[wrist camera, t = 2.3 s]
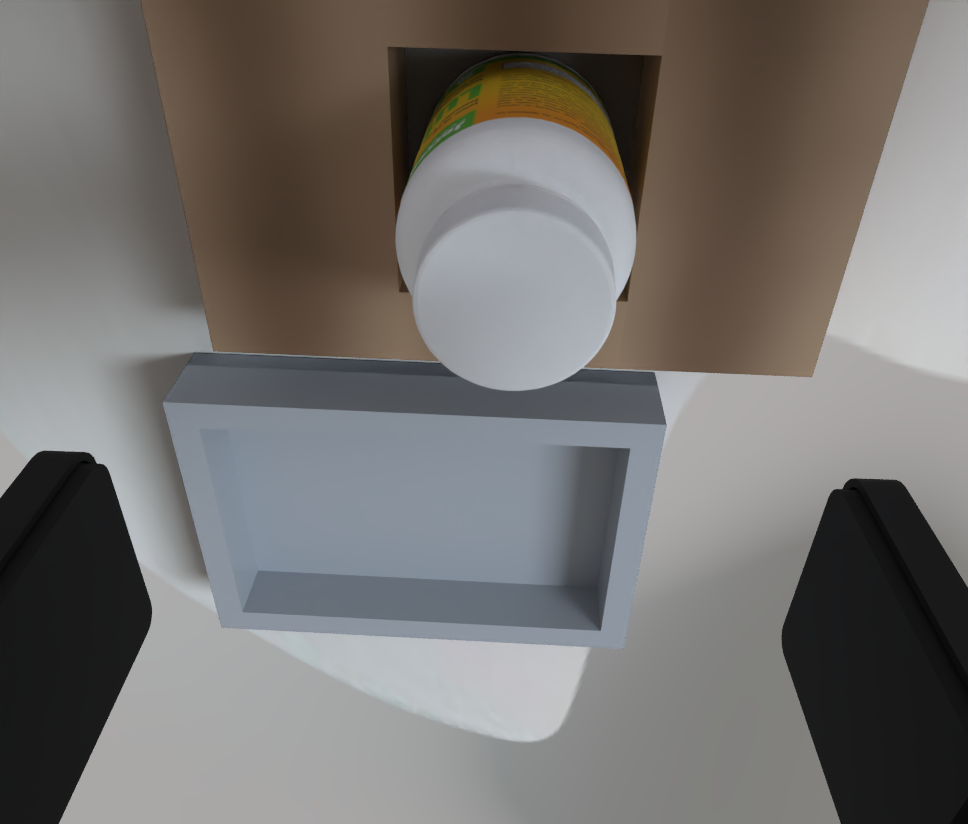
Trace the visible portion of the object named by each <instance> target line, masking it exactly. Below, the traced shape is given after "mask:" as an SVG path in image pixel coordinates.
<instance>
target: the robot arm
mask: <svg viewBox="0 0 968 824" xmlns="http://www.w3.org/2000/svg"><path fill="white" fill-rule="evenodd" d="M151 617H152V606H151V601H150V598H149V595H148V592H147V589H146V586H145V583H144V579H143V576H142V573H141V570H140V567H139V564H138V561H137V558H136V554H135V551H134V548H133V545H132V542H131V539H130V536H129V533H128V529H127V526H126V523H125V520H124V517H123V514H122V511H121V508H120V504H119V501H118V498H117V495H116V492H115V489H114V486H113V483H112V479H111V476H110V473H109V471H108V469H107V467H106V466H105V465H103V464H97V463H96V461H95V459H94V457H93V456H92V455H91V454H90V453H86V452H65V451H41V452H38V453H37V454H36V455H35V456H34V457H33V458H32V459H31V460H30V461H29V462H28V464H27V465H26V466H25V468H24V469H23V470H22V471H21V473H20V474H19V475H18V476H17V478H16V479H15V480H14V482H13V483H12V484H11V485H10V487H9V488H8V489H7V490H6V492H5V493H4V494H3V495H2V497H1V498H0V824H59V822H60V820H61V817H62V815H63V813H64V811H65V809H66V807H67V805H68V802H69V800H70V798H71V796H72V794H73V792H74V790H75V787H76V785H77V783H78V781H79V779H80V777H81V775H82V772H83V770H84V768H85V766H86V764H87V762H88V760H89V757H90V755H91V753H92V751H93V749H94V747H95V745H96V742H97V740H98V738H99V736H100V734H101V732H102V729H103V727H104V725H105V723H106V721H107V719H108V717H109V715H110V712H111V710H112V708H113V706H114V703H115V702H116V699H117V697H118V695H119V693H120V691H121V688H122V687H123V684H124V682H125V680H126V678H127V676H128V674H129V671H130V669H131V667H132V665H133V663H134V661H135V659H136V656H137V654H138V652H139V650H140V648H141V646H142V644H143V642H144V639H145V637H146V635H147V633H148V630H149V627H150V624H151ZM782 648H783V653H784V657H785V660H786V663H787V666H788V668H789V672H790V674H791V677H792V680H793V683H794V686H795V689H796V692H797V695H798V698H799V701H800V704H801V707H802V710H803V713H804V716H805V719H806V722H807V725H808V728H809V730H810V733H811V737H812V739H813V742H814V745H815V748H816V751H817V754H818V757H819V760H820V763H821V766H822V769H823V772H824V775H825V778H826V781H827V784H828V787H829V790H830V793H831V796H832V799H833V801H834V804H835V807H836V810H837V813H838V816H839V819H840V822H841V824H968V587H967V586H966V584H965V582H964V581H963V579H962V578H961V576H960V574H959V573H958V571H957V570H956V568H955V566H954V565H953V563H952V561H951V560H950V558H949V556H948V555H947V553H946V552H945V550H944V548H943V547H942V545H941V544H940V542H939V541H938V539H937V537H936V535H935V534H934V532H933V531H932V530H931V527H930V526H929V524H928V523H927V521H926V520H925V518H924V516H923V514H922V513H921V512H920V510H919V508H918V506H917V505H916V503H915V502H914V500H913V498H912V497H911V495H910V493H909V492H908V490H907V489H906V487H905V486H904V485H903V484H902V483H901V482H899V481H897V480H883V479H881V480H880V479H850V480H849V481H847V482H846V483H845V485H844V487H843V489H836V490H833V491H832V492H831V494H830V496H829V498H828V501H827V504H826V506H825V509H824V512H823V515H822V518H821V521H820V524H819V526H818V529H817V532H816V535H815V537H814V540H813V543H812V546H811V549H810V552H809V555H808V557H807V560H806V563H805V566H804V568H803V571H802V574H801V577H800V580H799V583H798V585H797V588H796V591H795V594H794V597H793V600H792V602H791V605H790V608H789V611H788V614H787V616H786V619H785V622H784V625H783V629H782Z"/></svg>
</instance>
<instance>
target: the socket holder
mask: <svg viewBox="0 0 968 824" xmlns="http://www.w3.org/2000/svg"><path fill="white" fill-rule="evenodd" d="M928 3H929V0H141V5H142V10H143V15H144V20H145V25H146V29H147V34H148V39H149V44H150V49H151V53H152V58H153V63H154V68H155V73H156V78H157V82H158V87H159V92H160V97H161V102H162V106H163V111H164V116H165V121H166V126H167V131H168V135H169V140H170V145H171V150H172V155H173V159H174V164H175V169H176V174H177V179H178V184H179V188H180V193H181V198H182V203H183V208H184V213H185V217H186V222H187V227H188V232H189V237H190V241H191V246H192V251H193V256H194V261H195V266H196V270H197V275H198V280H199V285H200V290H201V294H202V299H203V304H204V309H205V314H206V319H207V323H208V328H209V333H210V338H211V343H212V347H213V351H219V352H242V353H266V354H289V355H312V356H335V357H358V358H381V359H404V360H428V361H439V360H438V359H437V358H436V357H435V356H434V355H433V354H432V352H431V351H430V350H429V349H428V347H427V345H426V344H425V342H424V341H423V339H422V337H421V335H420V333H419V330H418V328H417V325H416V321H415V317H414V313H413V306H412V295H411V294H410V292H409V290H408V288H407V286H406V284H405V282H404V279H403V277H402V274H401V271H400V267H399V263H398V259H397V252H396V241H395V235H396V223H397V217H398V212H399V208H400V203H401V198H402V196H403V193H404V190H405V188H406V185H407V182H408V180H409V160H408V132H407V103H406V75H405V47H412V48H442V49H473V50H504V51H535V52H566V53H596V54H627V55H644V59H643V67H642V75H641V83H640V91H639V98H638V106H637V114H636V122H635V130H634V137H633V145H632V153H631V161H630V169H629V176H628V187H629V191H630V194H631V197H632V202H633V207H634V215H635V222H636V251H635V258H634V262H633V266H632V269H631V273H630V275H629V278H628V280H627V282H626V285H625V287H624V289H623V291H622V292H621V294H620V296H619V298H618V299H617V300H616V313H615V318H614V322H613V325H612V327H611V330H610V333H609V335H608V337H607V339H606V341H605V342H604V344H603V346H602V347H601V349H600V350H599V351H598V353H597V354H596V355H595V356H594V357H593V358H592V359H591V360H590V362H589V363H588V364H587V365H585V366H584V367H589V368H613V369H636V370H659V371H682V372H705V373H728V374H751V375H752V374H753V375H774V376H798V377H812V376H813V372H814V369H815V366H816V363H817V360H818V356H819V353H820V350H821V347H822V344H823V340H824V337H825V334H826V331H827V327H828V324H829V321H830V318H831V315H832V311H833V308H834V305H835V302H836V299H837V295H838V292H839V289H840V286H841V282H842V279H843V276H844V273H845V270H846V266H847V263H848V260H849V257H850V253H851V250H852V247H853V244H854V241H855V237H856V234H857V231H858V228H859V225H860V221H861V218H862V215H863V212H864V208H865V205H866V202H867V199H868V196H869V192H870V189H871V186H872V183H873V180H874V176H875V173H876V170H877V167H878V163H879V160H880V157H881V154H882V151H883V147H884V144H885V141H886V138H887V134H888V131H889V128H890V125H891V122H892V118H893V115H894V112H895V109H896V106H897V102H898V99H899V96H900V93H901V89H902V86H903V83H904V80H905V77H906V73H907V70H908V67H909V64H910V61H911V57H912V54H913V51H914V48H915V44H916V41H917V38H918V35H919V32H920V28H921V25H922V22H923V19H924V15H925V12H926V9H927V6H928Z"/></svg>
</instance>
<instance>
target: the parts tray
mask: <svg viewBox="0 0 968 824" xmlns="http://www.w3.org/2000/svg"><path fill="white" fill-rule="evenodd" d="M162 403H163V407H164V410H165V414H166V418H167V422H168V426H169V429H170V433H171V437H172V441H173V445H174V448H175V452H176V456H177V460H178V464H179V468H180V471H181V475H182V479H183V483H184V487H185V490H186V494H187V498H188V502H189V506H190V509H191V513H192V517H193V521H194V525H195V529H196V532H197V536H198V540H199V544H200V548H201V551H202V555H203V559H204V563H205V567H206V570H207V574H208V578H209V582H210V586H211V590H212V593H213V597H214V601H215V605H216V609H217V612H218V616H219V620H220V624H221V627H222V628H239V629H258V630H277V631H295V632H314V633H333V634H352V635H371V636H390V637H409V638H428V639H447V640H466V641H485V642H504V643H523V644H542V645H561V646H580V647H599V648H618V649H623V648H624V644H625V639H626V634H627V629H628V622H629V618H630V613H631V607H632V602H633V597H634V592H635V587H636V582H637V576H638V571H639V565H640V561H641V556H642V550H643V545H644V540H645V535H646V530H647V524H648V519H649V514H650V509H651V503H652V498H653V493H654V488H655V483H656V477H657V472H658V467H659V461H660V457H661V451H662V446H663V441H664V436H665V430H666V420H665V416H664V412H663V407H662V403H661V398H660V394H659V390H658V385H657V381H656V377H655V373H646V372H623V371H600V370H579V371H578V372H576V373H575V374H573V375H572V376H570V377H568V378H566V379H564V380H562V381H560V382H558V383H555V384H552V385H549V386H546V387H543V388H539V389H532V390H524V391H506V390H497V389H491V388H487V387H483V386H480V385H477V384H474V383H472V382H470V381H468V380H466V379H463V378H461V377H460V376H458V375H456V374H455V373H453V372H452V371H450V370H449V369H448V368H447V367H445V366H444V365H443V364H438V363H415V362H392V361H369V360H346V359H323V358H300V357H277V356H254V355H231V354H208V353H194V354H193V356H192V358H191V359H190V361H189V362H188V364H187V365H186V367H185V368H184V370H183V371H182V373H181V374H180V376H179V377H178V379H177V381H176V382H175V384H174V385H173V387H172V388H171V390H170V391H169V393H168V394H167V396H166V397H165V399H164V400H163V402H162Z"/></svg>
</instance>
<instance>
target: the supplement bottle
mask: <svg viewBox="0 0 968 824" xmlns="http://www.w3.org/2000/svg"><path fill="white" fill-rule="evenodd" d="M395 241H396V252H397V259H398V263H399V267H400V271H401V274H402V277H403V279H404V282H405V284H406V286H407V288H408V290H409V292H410V294H411V295H412V306H413V313H414V317H415V321H416V325H417V328H418V330H419V333H420V335H421V337H422V339H423V341H424V342H425V344H426V345H427V347H428V349H429V350H430V351H431V352H432V354H433V355H434V356H435V357H436V358H437V359H438V360H439V361H440V362H441V363H442V364H443V365H444V366H445V367H447V368H448V369H449V370H450V371H452V372H453V373H455V374H456V375H458V376H460V377H461V378H463V379H466V380H468V381H470V382H472V383H474V384H477V385H480V386H483V387H487V388H491V389H497V390H506V391H524V390H532V389H539V388H543V387H546V386H549V385H552V384H555V383H558V382H560V381H562V380H564V379H566V378H568V377H570V376H572V375H573V374H575V373H576V372H578V371H579V370H580V369H582V368H583V367H584V366H585V365H587V364H588V363H589V362H590V360H591V359H592V358H593V357H594V356H595V355H596V354H597V353H598V351H599V350H600V349H601V347H602V346H603V344H604V342H605V341H606V339H607V337H608V335H609V333H610V330H611V327H612V325H613V322H614V318H615V313H616V300H617V299H618V298H619V296H620V294H621V292H622V291H623V289H624V287H625V285H626V282H627V280H628V278H629V275H630V273H631V269H632V266H633V262H634V258H635V251H636V222H635V215H634V207H633V202H632V197H631V194H630V191H629V187H628V183H627V180H626V177H625V173H624V169H623V165H622V162H621V159H620V155H619V152H618V148H617V144H616V141H615V136H614V132H613V129H612V125H611V121H610V119H609V116H608V113H607V111H606V108H605V106H604V104H603V102H602V100H601V99H600V97H599V95H598V94H597V92H596V91H595V90H594V88H593V87H592V86H591V85H590V84H589V82H587V81H586V80H585V79H584V78H583V77H582V76H581V75H580V74H579V73H577V72H576V71H575V70H573V69H572V68H570V67H569V66H567V65H565V64H563V63H562V62H560V61H557V60H555V59H553V58H549V57H546V56H542V55H537V54H530V53H512V54H504V55H499V56H495V57H492V58H489V59H487V60H484V61H481V62H480V63H478V64H476V65H474V66H472V67H471V68H469V69H468V70H466V71H465V72H464V73H462V74H461V75H460V76H459V77H458V78H457V79H456V80H455V81H454V82H453V83H452V84H451V85H450V86H449V87H448V88H447V89H446V91H445V92H444V94H443V95H442V97H441V98H440V100H439V102H438V104H437V105H436V107H435V109H434V112H433V114H432V116H431V119H430V121H429V124H428V127H427V129H426V132H425V135H424V138H423V141H422V143H421V146H420V149H419V151H418V153H417V156H416V159H415V162H414V165H413V168H412V171H411V174H410V177H409V180H408V182H407V185H406V188H405V190H404V193H403V196H402V198H401V203H400V208H399V212H398V217H397V223H396V235H395Z"/></svg>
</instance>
